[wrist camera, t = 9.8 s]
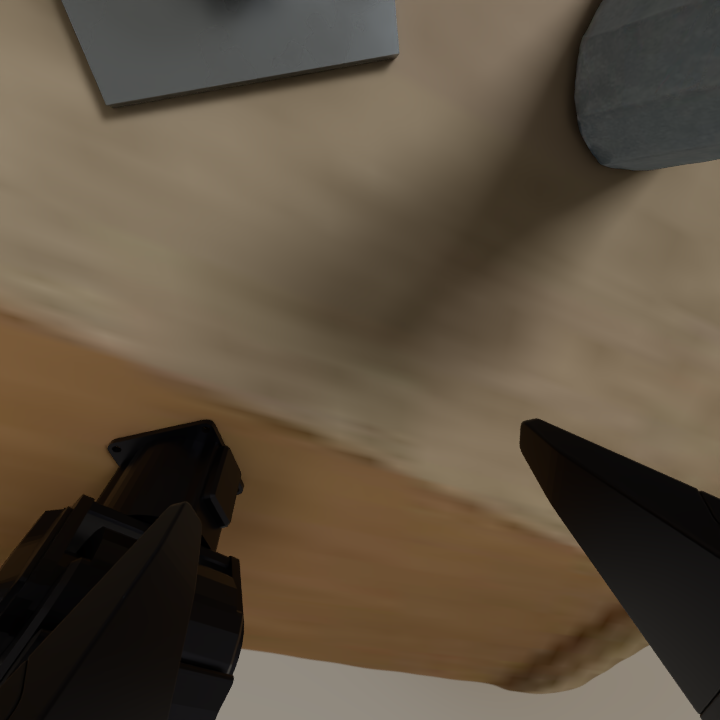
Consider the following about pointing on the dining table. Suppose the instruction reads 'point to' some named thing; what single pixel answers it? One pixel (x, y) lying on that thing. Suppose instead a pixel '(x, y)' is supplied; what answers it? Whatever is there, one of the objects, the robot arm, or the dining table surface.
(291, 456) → the dining table surface
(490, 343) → the dining table surface
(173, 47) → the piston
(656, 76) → the moka pot
